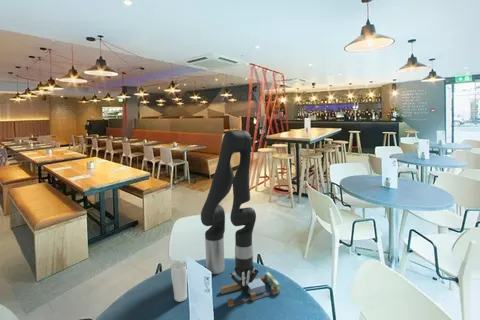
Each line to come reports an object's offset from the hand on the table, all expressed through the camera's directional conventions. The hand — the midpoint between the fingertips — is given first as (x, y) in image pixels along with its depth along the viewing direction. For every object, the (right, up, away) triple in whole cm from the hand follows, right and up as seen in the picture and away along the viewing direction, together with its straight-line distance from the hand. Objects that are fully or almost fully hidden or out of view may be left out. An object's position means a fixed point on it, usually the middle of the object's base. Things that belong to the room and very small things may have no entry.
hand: (244, 292), depth 114 cm
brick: (+5, -1, +3) cm, 6 cm away
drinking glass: (-27, -2, -2) cm, 27 cm away
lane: (+2, -1, +1) cm, 2 cm away
